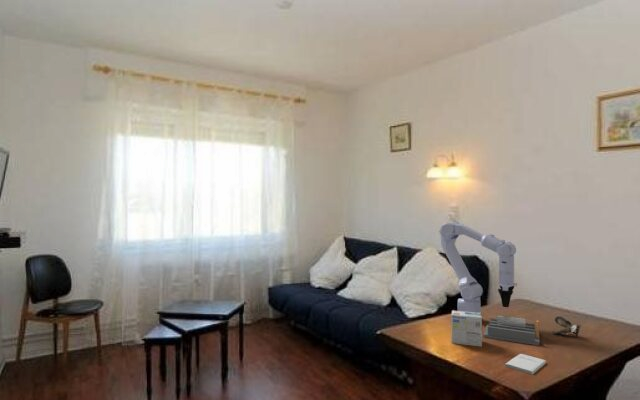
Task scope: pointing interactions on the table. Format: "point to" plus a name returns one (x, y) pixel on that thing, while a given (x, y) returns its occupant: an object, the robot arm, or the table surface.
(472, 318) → the light bulb box
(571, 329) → the eagle figurine
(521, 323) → the panel
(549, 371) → the table surface
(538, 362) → the external hard drive
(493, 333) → the slot rack
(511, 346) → the table surface
